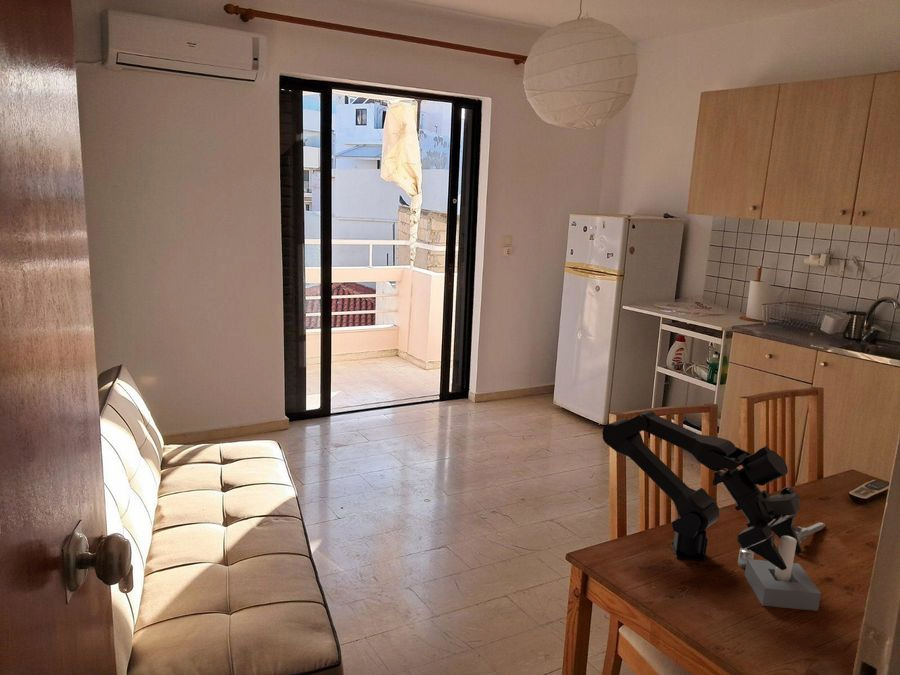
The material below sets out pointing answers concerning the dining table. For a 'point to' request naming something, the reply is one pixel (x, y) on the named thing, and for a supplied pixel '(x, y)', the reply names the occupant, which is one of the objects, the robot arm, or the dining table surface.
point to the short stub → (744, 557)
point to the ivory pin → (786, 558)
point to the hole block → (782, 586)
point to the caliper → (807, 531)
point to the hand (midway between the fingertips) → (792, 561)
